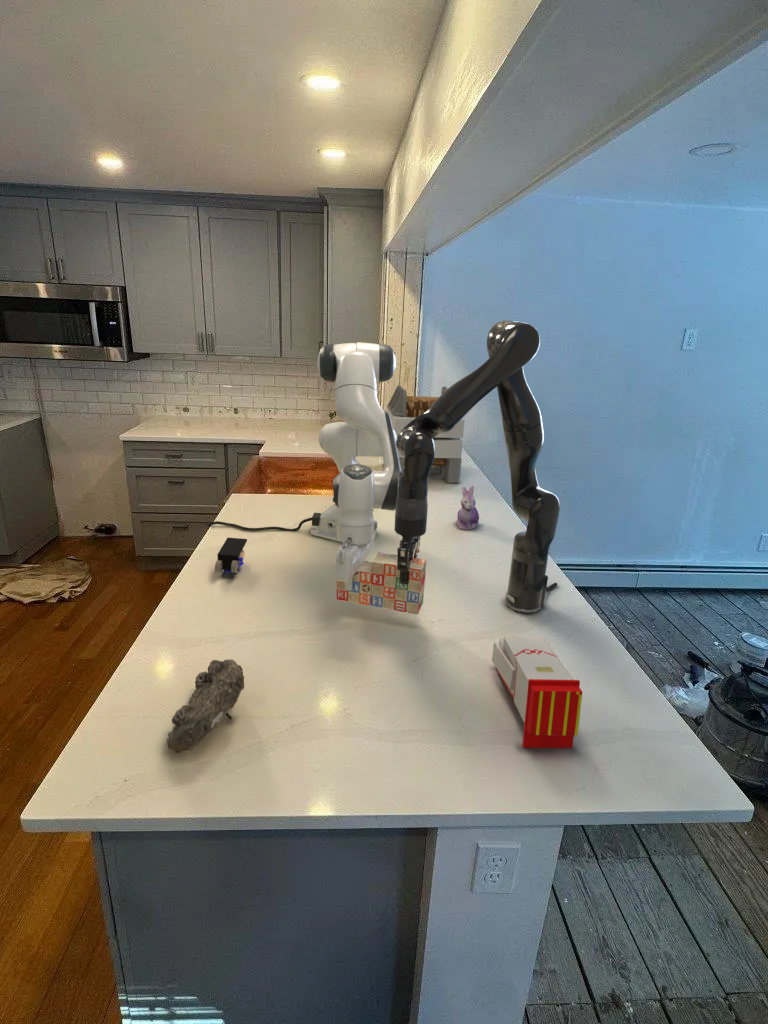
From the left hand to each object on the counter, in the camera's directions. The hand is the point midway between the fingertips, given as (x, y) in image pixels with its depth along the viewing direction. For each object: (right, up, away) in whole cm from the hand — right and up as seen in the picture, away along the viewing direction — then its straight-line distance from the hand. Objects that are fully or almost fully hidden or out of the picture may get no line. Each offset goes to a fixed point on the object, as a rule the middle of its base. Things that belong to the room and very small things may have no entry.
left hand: (354, 582), depth 143 cm
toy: (+37, -21, -27) cm, 50 cm away
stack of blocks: (+7, -5, 0) cm, 8 cm away
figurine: (+38, +13, +67) cm, 78 cm away
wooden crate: (+25, +37, +132) cm, 139 cm away
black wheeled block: (-37, +1, +24) cm, 45 cm away
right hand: (+13, +2, -5) cm, 14 cm away
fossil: (-25, -21, -35) cm, 48 cm away
